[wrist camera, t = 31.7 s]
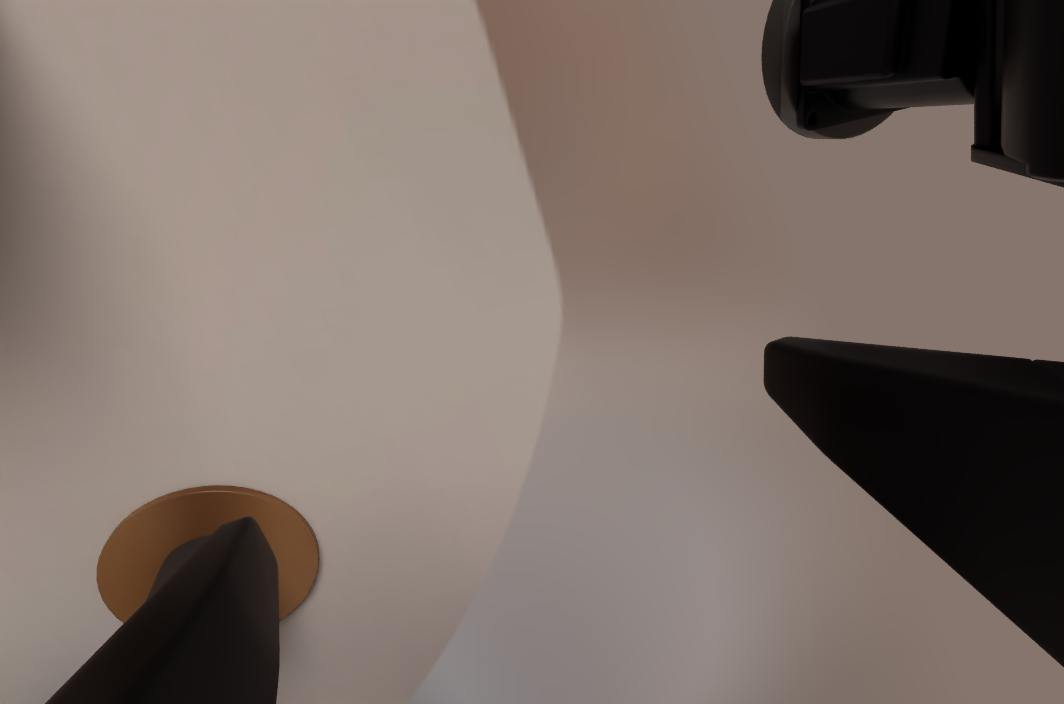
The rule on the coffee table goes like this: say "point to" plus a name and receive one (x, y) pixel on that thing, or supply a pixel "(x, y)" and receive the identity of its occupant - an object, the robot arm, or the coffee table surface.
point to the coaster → (197, 514)
